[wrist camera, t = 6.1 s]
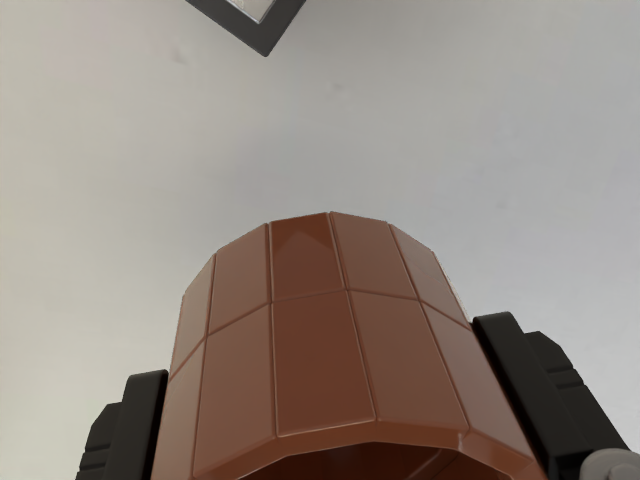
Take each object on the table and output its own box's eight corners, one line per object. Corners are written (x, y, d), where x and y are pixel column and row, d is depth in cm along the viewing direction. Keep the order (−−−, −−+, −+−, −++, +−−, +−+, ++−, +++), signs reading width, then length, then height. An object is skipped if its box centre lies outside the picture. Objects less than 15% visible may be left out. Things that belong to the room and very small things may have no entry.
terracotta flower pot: (145, 229, 12) (67, 471, 7) (446, 178, 12) (583, 382, 7) (216, 432, 16) (197, 694, 11) (451, 391, 16) (546, 632, 11)
